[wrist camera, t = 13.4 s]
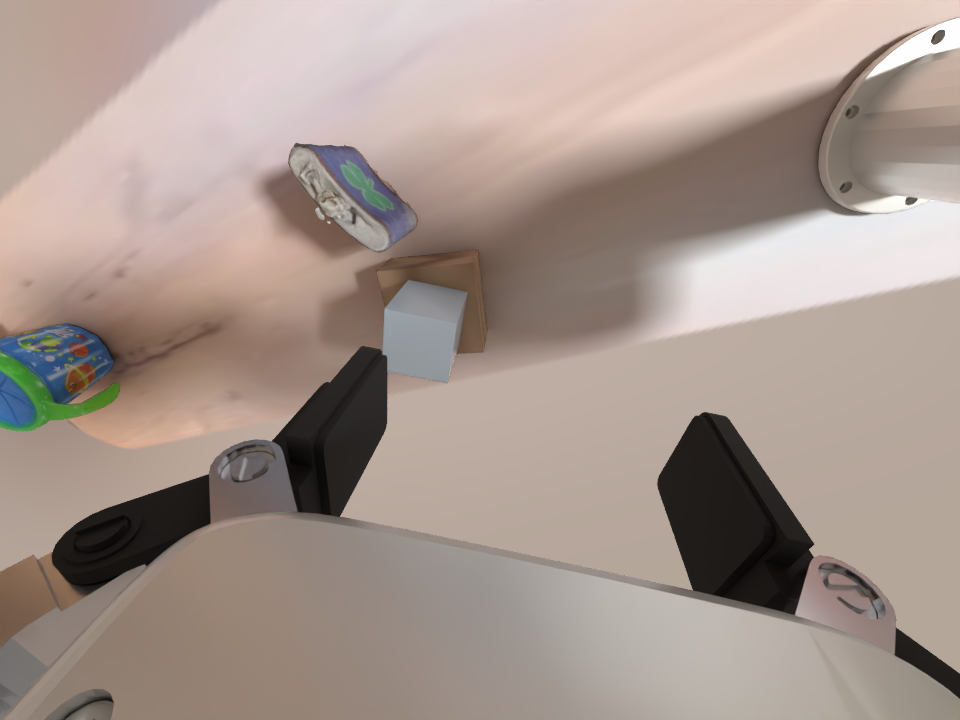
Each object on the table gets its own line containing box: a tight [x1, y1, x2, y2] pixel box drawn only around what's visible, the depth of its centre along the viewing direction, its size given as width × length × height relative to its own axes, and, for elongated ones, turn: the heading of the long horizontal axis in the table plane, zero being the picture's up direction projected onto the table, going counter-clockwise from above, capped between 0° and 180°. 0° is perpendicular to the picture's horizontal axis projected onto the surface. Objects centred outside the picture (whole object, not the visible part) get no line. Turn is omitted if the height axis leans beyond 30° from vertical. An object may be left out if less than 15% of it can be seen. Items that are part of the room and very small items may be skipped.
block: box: [376, 250, 487, 354], centre depth 37 cm, size 9×9×5 cm
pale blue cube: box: [382, 280, 468, 383], centre depth 32 cm, size 6×6×7 cm
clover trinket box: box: [289, 143, 417, 252], centre depth 30 cm, size 9×3×11 cm, turn 43°
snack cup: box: [0, 324, 120, 431], centre depth 43 cm, size 16×10×10 cm
